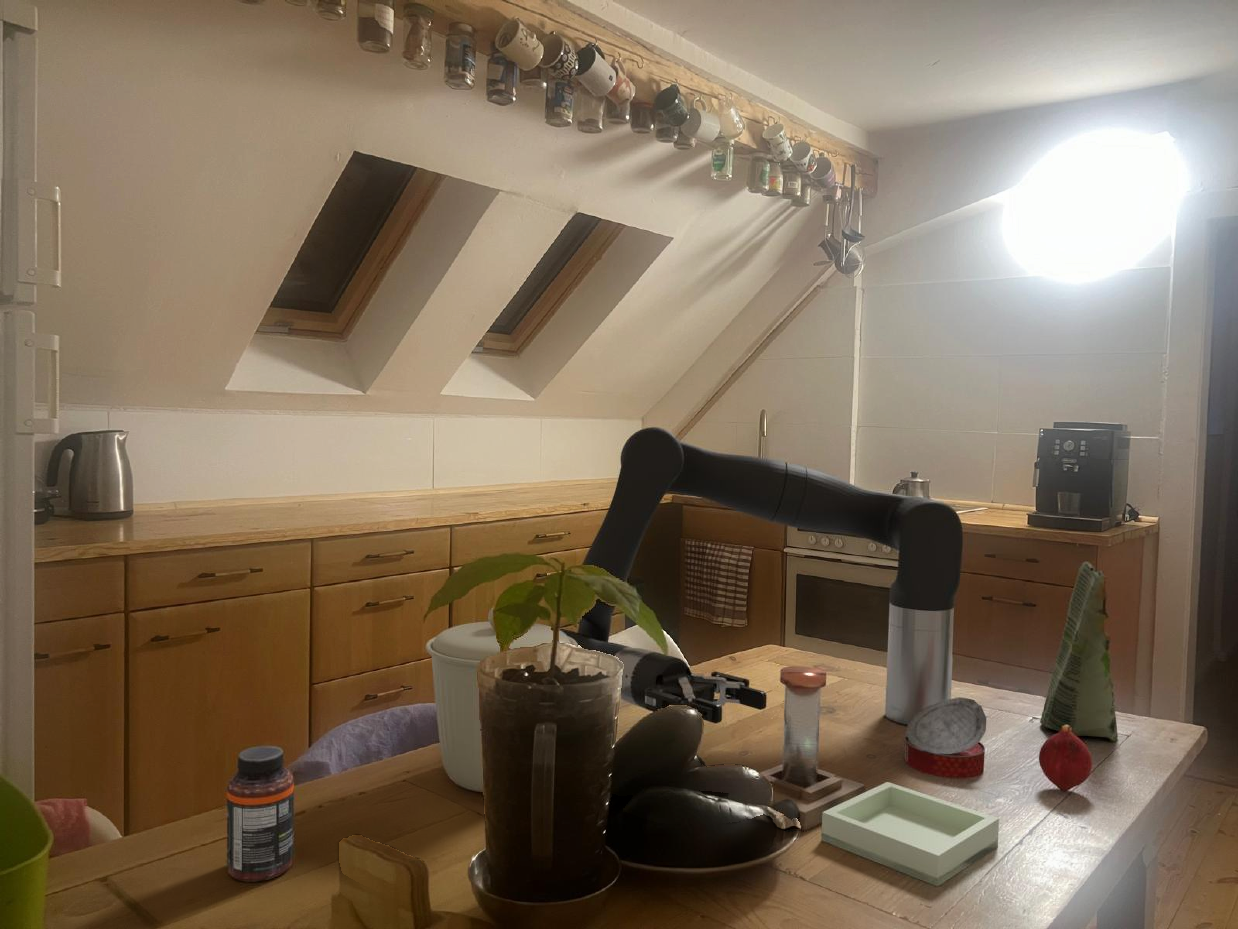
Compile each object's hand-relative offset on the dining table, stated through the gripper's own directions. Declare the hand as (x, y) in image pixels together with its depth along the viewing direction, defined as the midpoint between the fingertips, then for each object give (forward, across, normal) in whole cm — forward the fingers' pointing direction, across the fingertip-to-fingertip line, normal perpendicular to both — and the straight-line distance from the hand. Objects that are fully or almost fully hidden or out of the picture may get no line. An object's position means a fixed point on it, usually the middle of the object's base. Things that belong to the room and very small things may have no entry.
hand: (743, 707), depth 114 cm
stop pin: (+9, 0, +7) cm, 11 cm away
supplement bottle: (-15, -53, +9) cm, 56 cm away
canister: (-19, -22, +9) cm, 31 cm away
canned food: (+14, +25, +9) cm, 30 cm away
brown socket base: (+9, 0, +9) cm, 12 cm away
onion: (+28, +28, +9) cm, 40 cm away
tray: (+23, 0, +9) cm, 24 cm away
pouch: (+20, +53, +9) cm, 58 cm away
